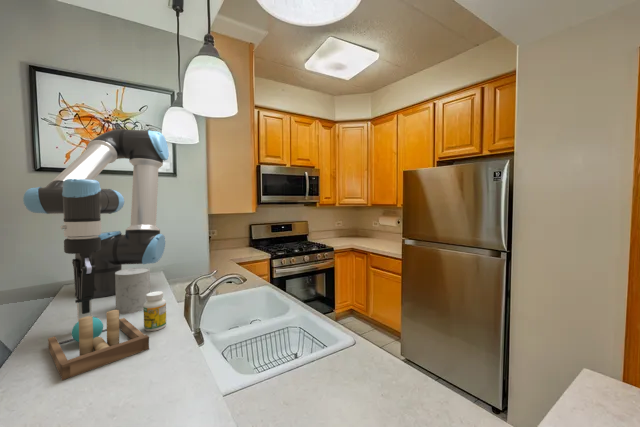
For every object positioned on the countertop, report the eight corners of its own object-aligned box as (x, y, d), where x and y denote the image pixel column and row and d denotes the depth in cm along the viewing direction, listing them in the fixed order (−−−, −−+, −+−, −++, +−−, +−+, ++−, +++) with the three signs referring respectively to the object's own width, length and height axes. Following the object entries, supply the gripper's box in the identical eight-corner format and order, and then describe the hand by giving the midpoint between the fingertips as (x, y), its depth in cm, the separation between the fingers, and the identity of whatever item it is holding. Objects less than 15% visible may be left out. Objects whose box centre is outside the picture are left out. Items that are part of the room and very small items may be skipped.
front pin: (90, 338, 65) (99, 351, 60) (102, 335, 67) (113, 346, 62) (90, 348, 65) (100, 362, 60) (103, 344, 67) (113, 357, 62)
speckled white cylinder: (156, 303, 95) (156, 268, 94) (135, 314, 85) (135, 275, 85) (131, 302, 96) (130, 267, 95) (107, 312, 86) (107, 274, 86)
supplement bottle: (170, 324, 78) (170, 291, 78) (155, 332, 73) (155, 297, 73) (154, 322, 80) (154, 289, 79) (138, 330, 74) (138, 295, 74)
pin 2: (105, 346, 66) (105, 312, 66) (117, 342, 68) (117, 309, 67) (108, 350, 64) (108, 314, 64) (120, 346, 66) (120, 311, 66)
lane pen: (48, 348, 65) (48, 336, 65) (124, 326, 77) (124, 316, 76) (62, 380, 53) (61, 365, 53) (149, 348, 65) (148, 336, 65)
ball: (71, 331, 63) (75, 352, 65) (103, 320, 68) (107, 340, 69) (67, 318, 67) (72, 339, 69) (98, 308, 71) (101, 328, 73)
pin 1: (78, 355, 62) (77, 318, 62) (92, 351, 64) (91, 315, 64) (80, 359, 60) (80, 321, 60) (94, 354, 62) (93, 318, 62)
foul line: (54, 344, 67) (54, 343, 67) (117, 326, 77) (117, 325, 77) (54, 345, 66) (54, 344, 66) (118, 327, 76) (118, 326, 76)
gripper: (59, 236, 74) (61, 321, 75) (68, 240, 66) (71, 336, 67) (94, 234, 80) (96, 313, 81) (107, 237, 72) (108, 326, 73)
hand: (84, 323), depth 74 cm, fingers closed
